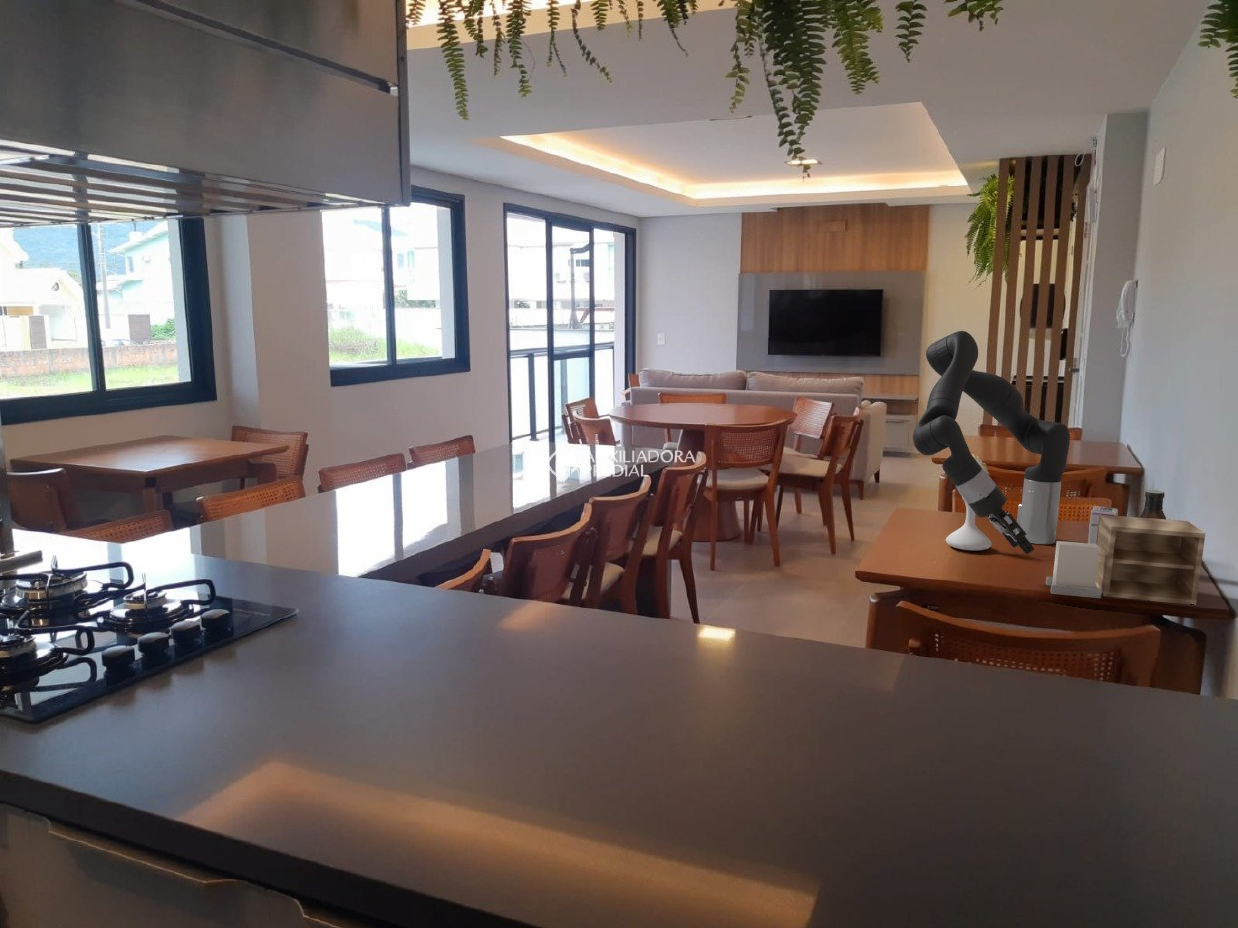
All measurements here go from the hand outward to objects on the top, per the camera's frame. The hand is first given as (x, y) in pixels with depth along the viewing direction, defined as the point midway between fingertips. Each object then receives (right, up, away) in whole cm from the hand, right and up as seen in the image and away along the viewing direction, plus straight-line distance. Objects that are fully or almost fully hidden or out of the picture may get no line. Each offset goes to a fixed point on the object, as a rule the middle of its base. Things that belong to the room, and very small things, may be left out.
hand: (1023, 548), depth 201 cm
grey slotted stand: (+10, -9, -2) cm, 14 cm away
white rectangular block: (+10, -9, -2) cm, 14 cm away
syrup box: (+28, -6, +19) cm, 34 cm away
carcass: (+26, -10, -2) cm, 27 cm away
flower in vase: (+1, -3, +34) cm, 34 cm away
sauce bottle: (+38, -7, +16) cm, 41 cm away
